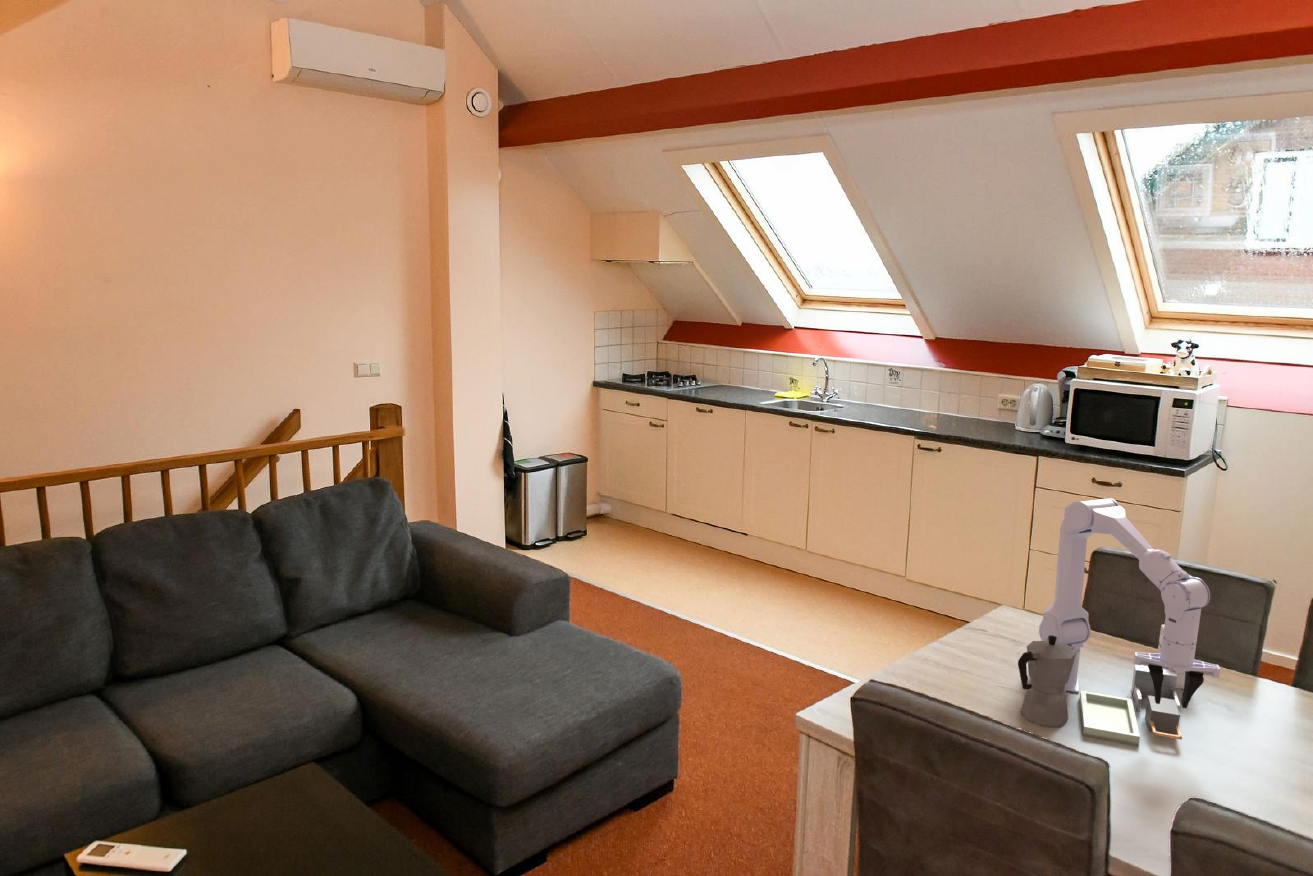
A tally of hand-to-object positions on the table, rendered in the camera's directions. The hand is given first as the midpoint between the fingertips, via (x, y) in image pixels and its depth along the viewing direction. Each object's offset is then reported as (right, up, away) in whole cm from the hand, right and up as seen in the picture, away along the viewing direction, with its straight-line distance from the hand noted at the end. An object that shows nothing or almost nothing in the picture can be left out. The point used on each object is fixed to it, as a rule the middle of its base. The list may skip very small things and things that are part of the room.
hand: (1170, 703), depth 183 cm
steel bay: (+6, -5, +18) cm, 20 cm away
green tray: (-8, -6, +10) cm, 14 cm away
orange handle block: (+1, -8, +6) cm, 10 cm away
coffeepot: (-21, -6, +11) cm, 25 cm away
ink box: (+16, -3, +29) cm, 34 cm away
